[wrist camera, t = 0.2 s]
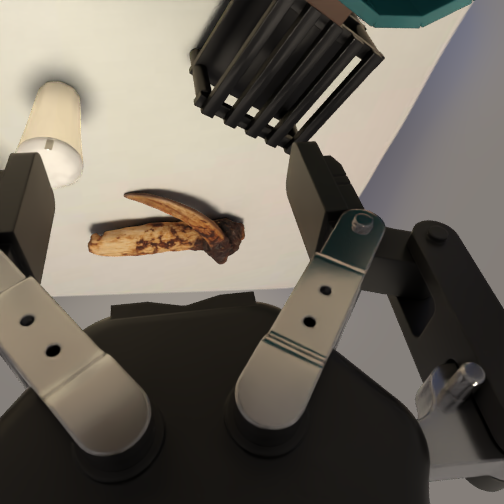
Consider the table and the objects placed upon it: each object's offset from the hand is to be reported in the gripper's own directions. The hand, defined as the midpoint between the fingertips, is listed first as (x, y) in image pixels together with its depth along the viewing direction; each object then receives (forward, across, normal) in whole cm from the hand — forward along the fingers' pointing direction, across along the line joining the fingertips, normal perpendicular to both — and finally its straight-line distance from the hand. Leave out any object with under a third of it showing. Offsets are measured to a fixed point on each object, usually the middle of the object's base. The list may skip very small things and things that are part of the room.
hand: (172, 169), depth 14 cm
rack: (+24, -9, +5) cm, 26 cm away
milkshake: (+24, +9, +10) cm, 28 cm away
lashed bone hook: (+26, +1, +26) cm, 37 cm away
